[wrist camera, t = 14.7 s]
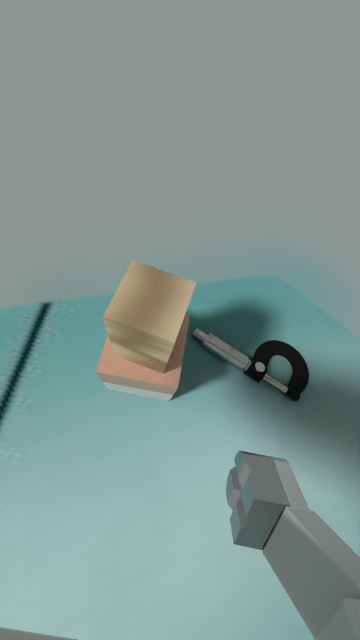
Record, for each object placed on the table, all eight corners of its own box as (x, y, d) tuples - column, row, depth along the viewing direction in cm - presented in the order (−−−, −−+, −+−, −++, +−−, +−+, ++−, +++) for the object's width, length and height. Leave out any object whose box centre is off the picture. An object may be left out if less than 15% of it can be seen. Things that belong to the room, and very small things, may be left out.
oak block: (179, 328, 24) (196, 282, 17) (163, 373, 22) (174, 342, 15) (134, 312, 24) (132, 259, 17) (114, 355, 22) (102, 316, 15)
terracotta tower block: (183, 331, 29) (190, 315, 25) (172, 395, 26) (178, 387, 22) (121, 318, 28) (118, 300, 25) (102, 381, 25) (96, 371, 22)
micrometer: (312, 361, 34) (324, 355, 32) (293, 409, 31) (305, 406, 29) (215, 301, 36) (220, 291, 34) (188, 340, 33) (191, 333, 31)
